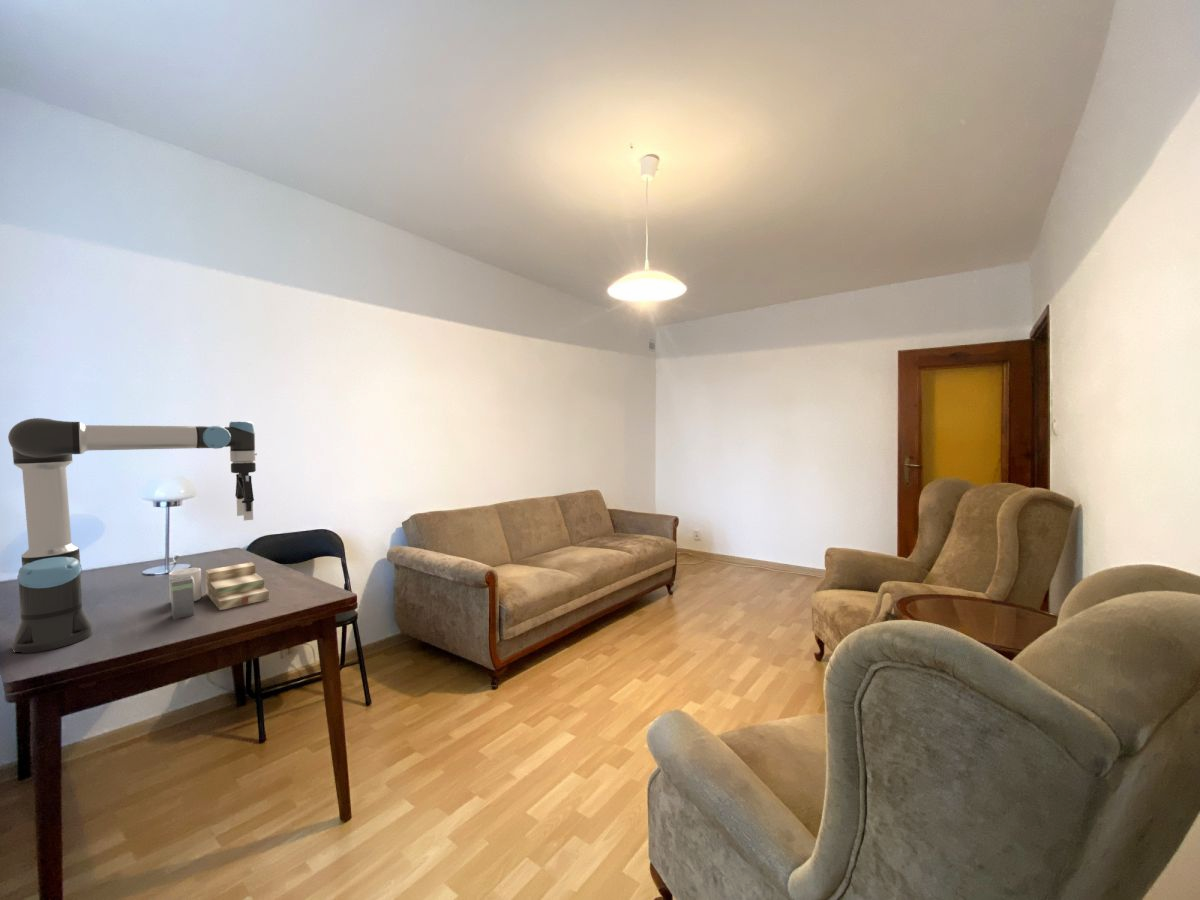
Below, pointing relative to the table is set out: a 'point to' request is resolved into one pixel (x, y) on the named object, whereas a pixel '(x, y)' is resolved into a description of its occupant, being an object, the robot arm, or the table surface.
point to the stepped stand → (235, 586)
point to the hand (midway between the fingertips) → (244, 517)
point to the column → (182, 597)
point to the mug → (194, 574)
